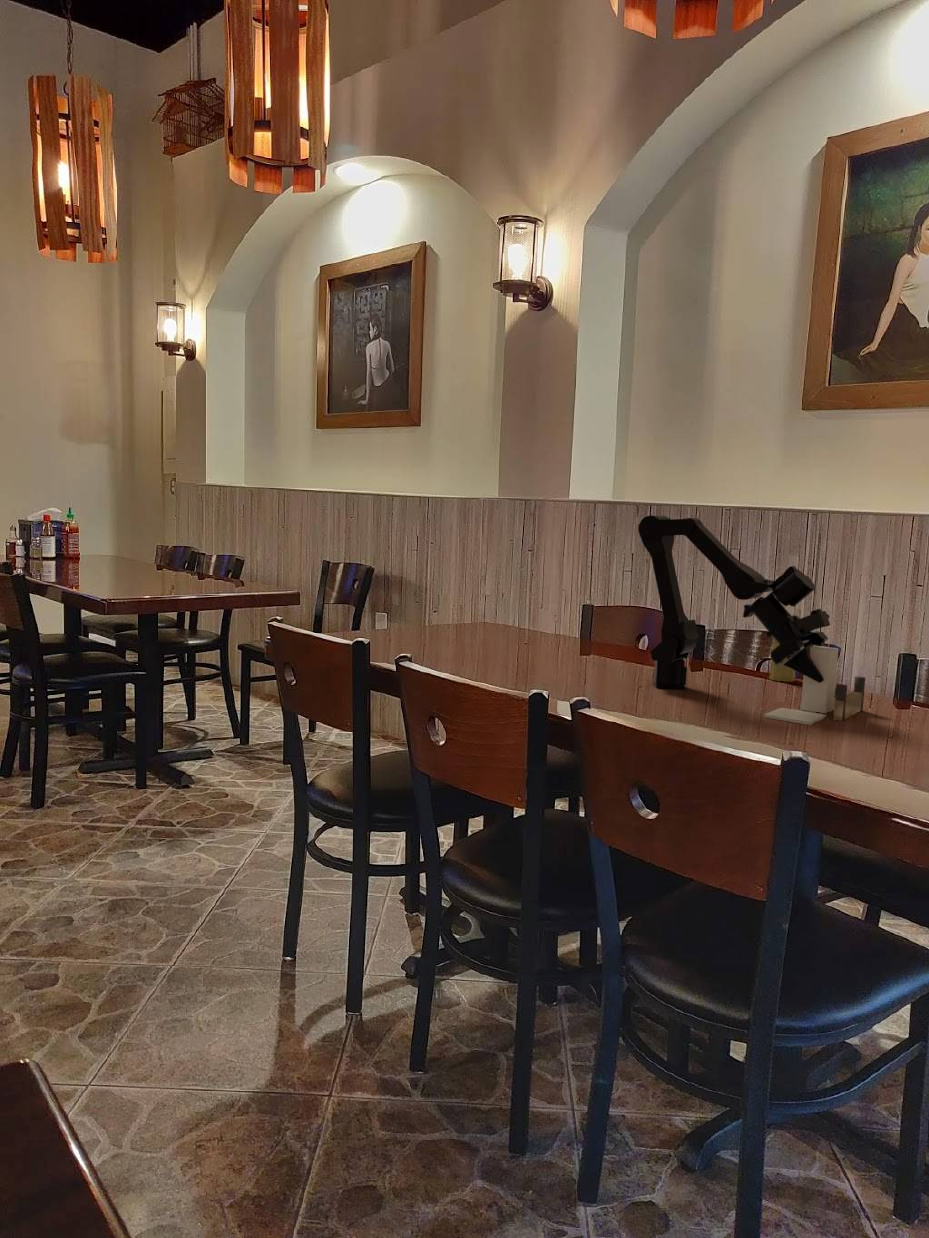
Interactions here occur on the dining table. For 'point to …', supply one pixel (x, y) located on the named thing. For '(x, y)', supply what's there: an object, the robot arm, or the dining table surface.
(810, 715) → the coaster
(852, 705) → the rack
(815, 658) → the beige tall rectangular block
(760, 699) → the dining table surface
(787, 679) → the vase
